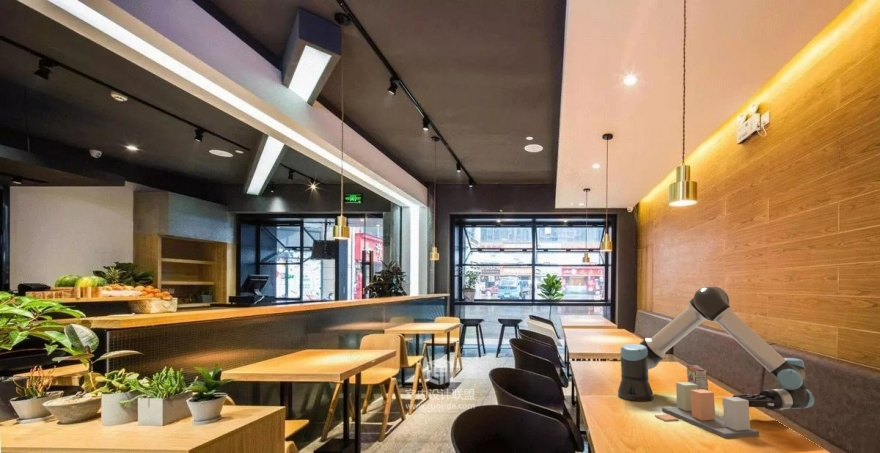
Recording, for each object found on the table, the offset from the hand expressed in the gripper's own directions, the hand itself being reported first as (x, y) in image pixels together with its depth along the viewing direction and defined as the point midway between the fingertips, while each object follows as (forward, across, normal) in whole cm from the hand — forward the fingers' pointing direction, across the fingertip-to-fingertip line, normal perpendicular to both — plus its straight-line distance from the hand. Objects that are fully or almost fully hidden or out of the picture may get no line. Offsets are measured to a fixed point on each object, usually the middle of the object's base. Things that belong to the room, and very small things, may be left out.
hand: (724, 401), depth 176 cm
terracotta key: (+10, 0, -6) cm, 11 cm away
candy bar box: (-6, +20, -8) cm, 22 cm away
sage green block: (+6, +12, -6) cm, 15 cm away
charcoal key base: (+8, 0, -7) cm, 11 cm away
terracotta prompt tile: (+20, +7, -7) cm, 23 cm away
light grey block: (+6, -12, -6) cm, 14 cm away
